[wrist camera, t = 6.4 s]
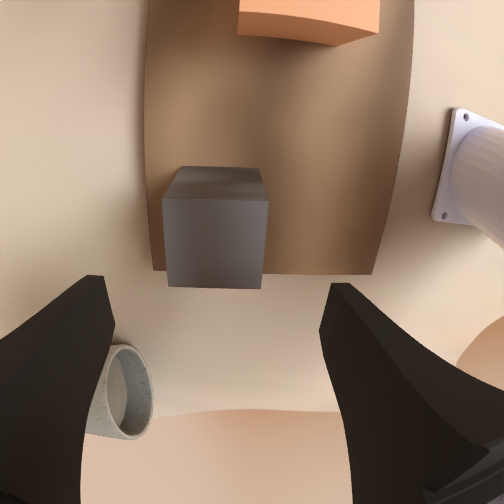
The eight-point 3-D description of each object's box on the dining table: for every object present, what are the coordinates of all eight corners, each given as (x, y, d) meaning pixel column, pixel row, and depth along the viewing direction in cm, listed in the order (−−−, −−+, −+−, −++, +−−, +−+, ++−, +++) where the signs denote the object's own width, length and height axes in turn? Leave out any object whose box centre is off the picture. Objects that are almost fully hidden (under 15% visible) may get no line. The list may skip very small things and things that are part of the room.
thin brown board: (405, -49, 10) (458, -75, 5) (367, 268, 20) (401, 324, 15) (166, -81, 9) (144, -130, 3) (156, 263, 19) (134, 325, 14)
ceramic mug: (48, 333, 22) (16, 401, 16) (122, 323, 22) (96, 407, 15) (105, 401, 28) (91, 462, 21) (173, 398, 27) (166, 468, 21)
